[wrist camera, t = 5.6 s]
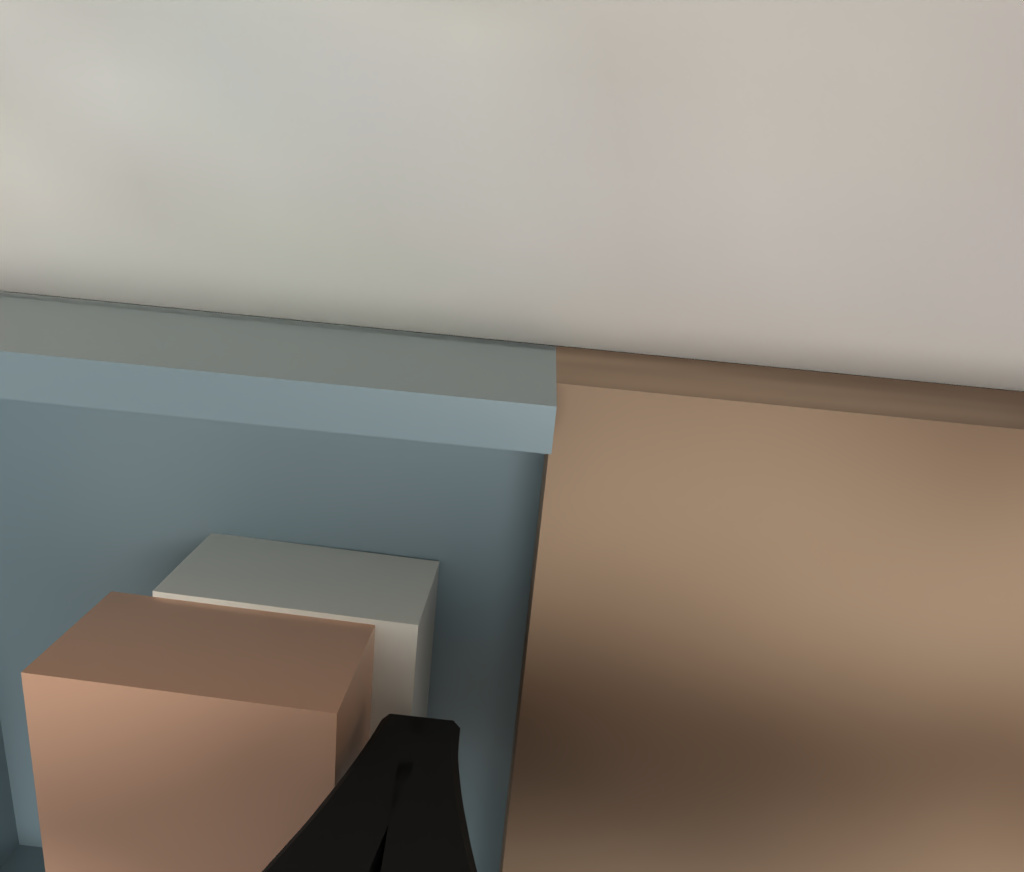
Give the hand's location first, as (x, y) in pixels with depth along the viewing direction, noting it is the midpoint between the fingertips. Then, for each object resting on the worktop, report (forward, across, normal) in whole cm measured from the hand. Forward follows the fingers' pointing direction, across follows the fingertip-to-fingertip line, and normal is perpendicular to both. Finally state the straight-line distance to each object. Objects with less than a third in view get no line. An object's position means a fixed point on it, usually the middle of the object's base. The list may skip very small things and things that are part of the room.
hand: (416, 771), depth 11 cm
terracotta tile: (+1, +3, 0) cm, 3 cm away
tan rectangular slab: (+3, -6, 0) cm, 7 cm away
